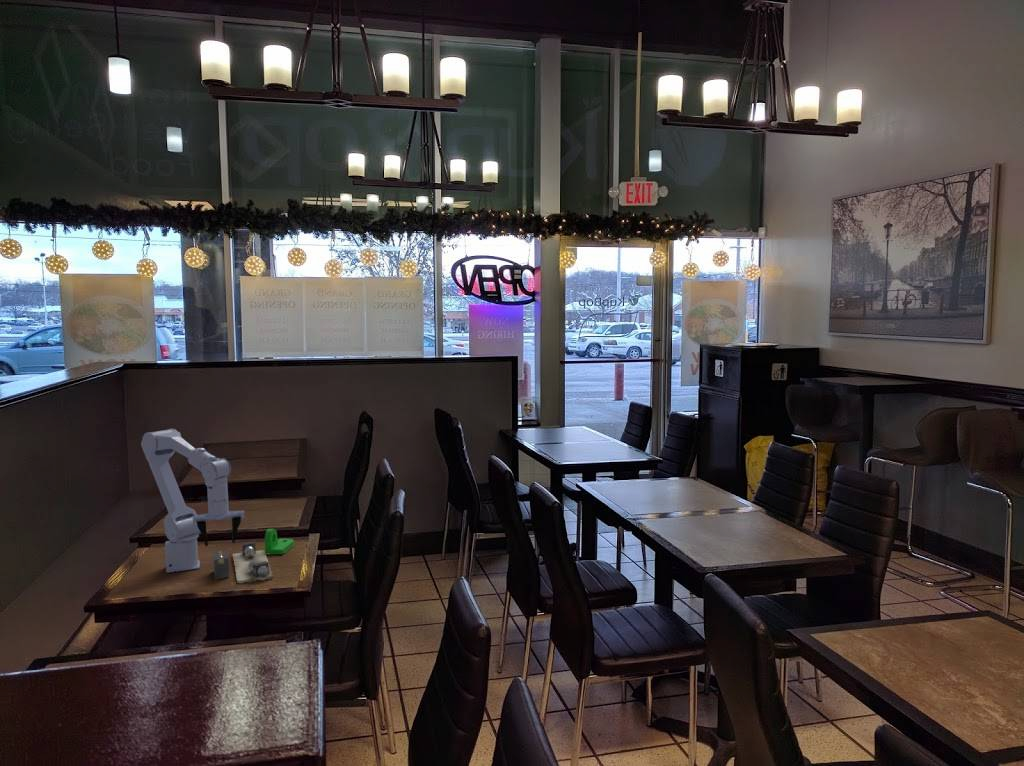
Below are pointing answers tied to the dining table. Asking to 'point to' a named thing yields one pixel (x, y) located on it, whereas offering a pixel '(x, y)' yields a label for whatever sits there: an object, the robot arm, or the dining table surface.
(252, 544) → the metal cylinder fitting
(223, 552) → the grey slotted block
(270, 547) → the mechanical part
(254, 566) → the angled shaft
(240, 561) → the board
